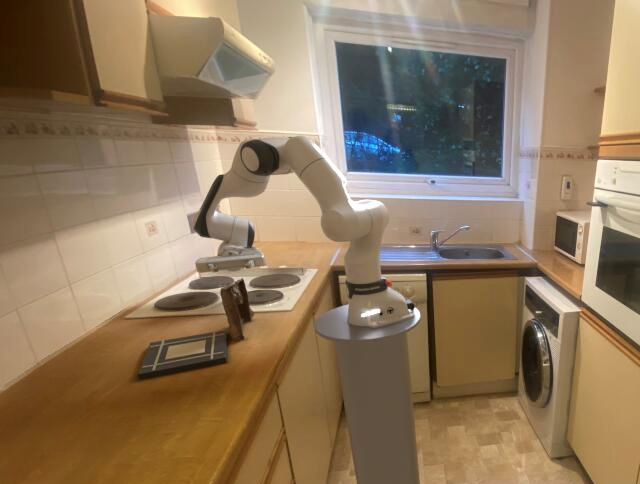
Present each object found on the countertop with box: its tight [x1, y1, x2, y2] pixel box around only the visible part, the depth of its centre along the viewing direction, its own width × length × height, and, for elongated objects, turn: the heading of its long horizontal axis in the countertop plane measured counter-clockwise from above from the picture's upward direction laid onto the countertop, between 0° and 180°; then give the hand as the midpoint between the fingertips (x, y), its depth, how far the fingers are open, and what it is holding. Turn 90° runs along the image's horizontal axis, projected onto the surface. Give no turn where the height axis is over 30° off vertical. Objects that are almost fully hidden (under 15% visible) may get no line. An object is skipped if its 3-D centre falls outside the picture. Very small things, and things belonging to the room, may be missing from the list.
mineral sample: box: [219, 277, 255, 341], centre depth 129 cm, size 17×4×15 cm, turn 18°
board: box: [137, 329, 229, 380], centre depth 116 cm, size 18×20×2 cm
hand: (231, 268), depth 143 cm, fingers open, 8 cm apart
